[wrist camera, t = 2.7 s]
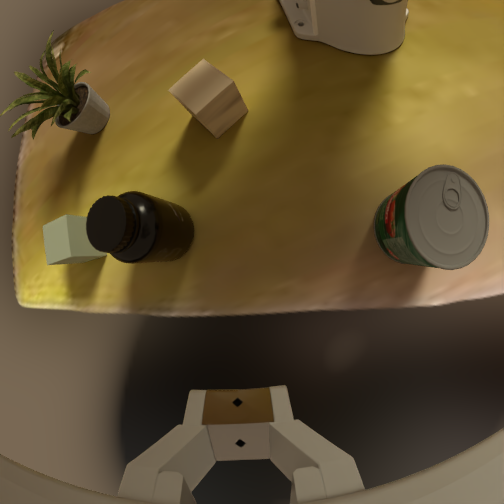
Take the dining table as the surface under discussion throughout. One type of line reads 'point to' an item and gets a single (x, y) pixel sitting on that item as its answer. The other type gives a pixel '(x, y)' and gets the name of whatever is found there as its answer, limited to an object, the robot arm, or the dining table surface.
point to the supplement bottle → (139, 228)
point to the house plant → (62, 99)
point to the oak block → (210, 97)
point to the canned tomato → (434, 220)
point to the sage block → (68, 241)
